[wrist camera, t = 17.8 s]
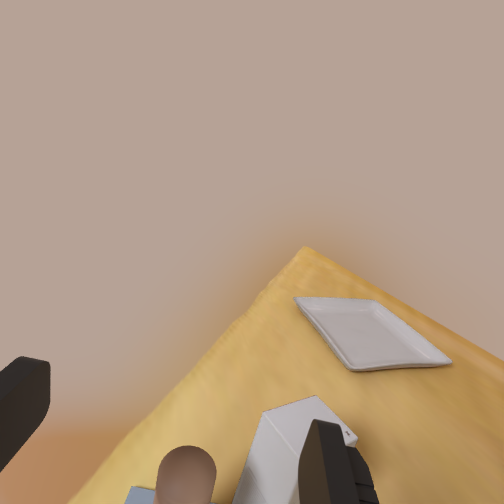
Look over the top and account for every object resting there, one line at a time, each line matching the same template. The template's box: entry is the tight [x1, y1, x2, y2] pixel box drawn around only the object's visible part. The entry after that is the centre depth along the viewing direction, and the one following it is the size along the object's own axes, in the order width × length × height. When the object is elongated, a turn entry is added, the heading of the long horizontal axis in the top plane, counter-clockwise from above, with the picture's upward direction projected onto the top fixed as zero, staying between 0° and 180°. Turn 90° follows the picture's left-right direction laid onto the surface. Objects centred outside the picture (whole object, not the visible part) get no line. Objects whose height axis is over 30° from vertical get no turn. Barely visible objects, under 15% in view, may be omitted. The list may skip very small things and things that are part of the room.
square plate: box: [293, 297, 453, 371], centre depth 77 cm, size 27×27×4 cm
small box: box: [232, 395, 358, 504], centre depth 34 cm, size 8×6×13 cm
